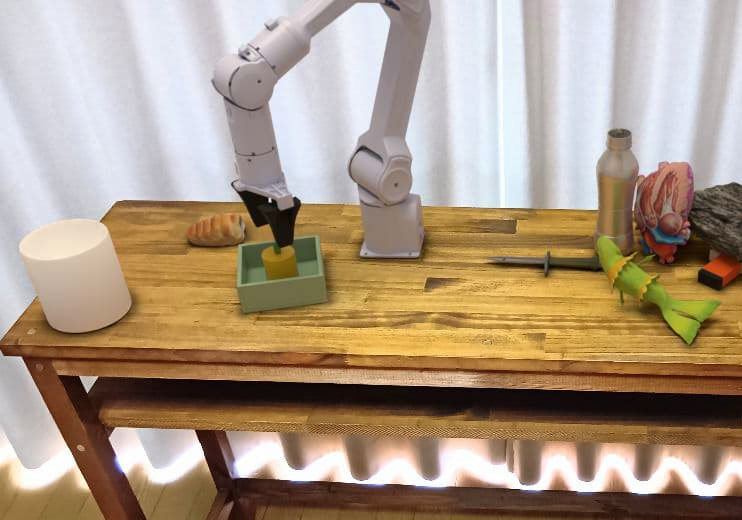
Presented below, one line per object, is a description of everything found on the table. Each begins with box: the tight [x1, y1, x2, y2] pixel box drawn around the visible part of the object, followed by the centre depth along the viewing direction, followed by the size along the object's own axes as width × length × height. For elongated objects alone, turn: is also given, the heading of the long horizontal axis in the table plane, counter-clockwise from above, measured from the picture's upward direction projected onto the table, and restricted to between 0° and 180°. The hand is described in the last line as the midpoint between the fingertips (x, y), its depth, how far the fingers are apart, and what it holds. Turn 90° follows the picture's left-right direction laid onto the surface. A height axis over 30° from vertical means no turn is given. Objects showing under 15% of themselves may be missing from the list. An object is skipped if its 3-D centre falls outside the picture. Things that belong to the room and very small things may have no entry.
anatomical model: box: [633, 160, 695, 265], centre depth 137 cm, size 11×6×15 cm
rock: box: [687, 181, 742, 261], centre depth 136 cm, size 12×16×6 cm
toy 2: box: [697, 247, 742, 291], centre depth 137 cm, size 8×4×15 cm
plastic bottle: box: [592, 127, 640, 258], centre depth 136 cm, size 6×7×20 cm
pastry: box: [184, 211, 246, 247], centre depth 147 cm, size 9×7×4 cm
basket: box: [236, 234, 329, 314], centre depth 136 cm, size 12×12×5 cm
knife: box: [482, 250, 602, 275], centre depth 139 cm, size 19×2×5 cm
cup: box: [18, 218, 133, 334], centre depth 129 cm, size 12×12×12 cm
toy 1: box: [597, 236, 723, 346], centre depth 128 cm, size 8×20×8 cm, turn 49°
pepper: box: [262, 242, 300, 281], centre depth 134 cm, size 5×5×7 cm
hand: (274, 235), depth 131 cm, fingers open, 7 cm apart
